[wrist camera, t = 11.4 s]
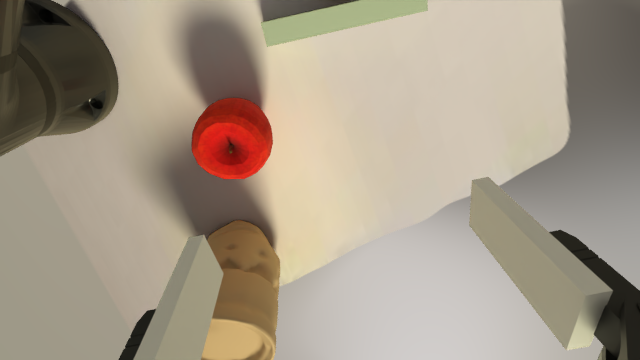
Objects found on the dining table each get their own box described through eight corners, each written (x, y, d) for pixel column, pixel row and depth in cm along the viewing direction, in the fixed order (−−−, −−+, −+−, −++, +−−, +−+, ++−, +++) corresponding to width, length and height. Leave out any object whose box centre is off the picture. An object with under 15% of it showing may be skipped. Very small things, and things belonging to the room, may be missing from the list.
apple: (238, 160, 44) (223, 202, 35) (194, 111, 41) (164, 143, 31) (288, 127, 43) (287, 162, 33) (247, 71, 39) (232, 94, 29)
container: (191, 254, 53) (147, 360, 37) (233, 206, 48) (204, 303, 33) (252, 285, 57) (236, 391, 42) (296, 244, 53) (296, 345, 38)
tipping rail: (269, 43, 37) (267, 46, 35) (263, 21, 36) (261, 23, 33) (418, 9, 36) (427, 10, 34) (417, -14, 35) (427, -15, 33)
